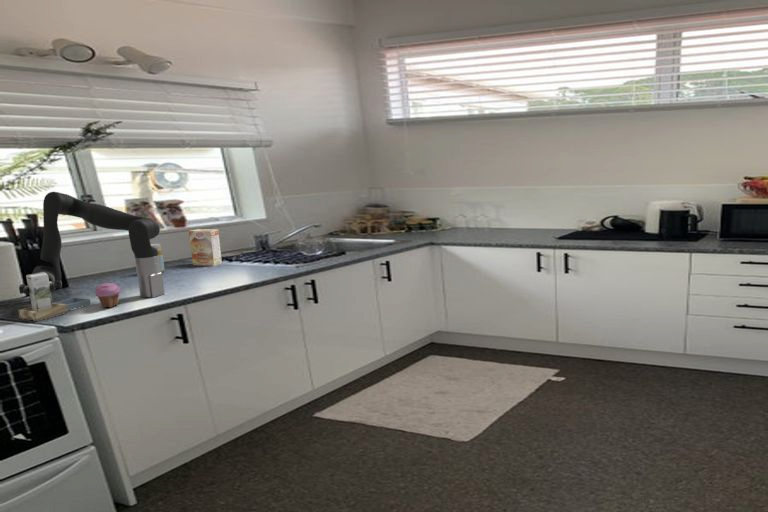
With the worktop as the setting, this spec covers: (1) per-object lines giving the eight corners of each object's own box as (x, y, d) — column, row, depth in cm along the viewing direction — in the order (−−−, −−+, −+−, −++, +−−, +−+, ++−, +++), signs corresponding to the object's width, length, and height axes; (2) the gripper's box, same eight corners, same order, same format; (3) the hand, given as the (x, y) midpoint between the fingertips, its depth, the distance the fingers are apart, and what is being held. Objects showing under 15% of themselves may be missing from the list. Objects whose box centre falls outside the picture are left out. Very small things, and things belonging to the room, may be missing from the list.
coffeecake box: (192, 265, 292) (188, 230, 288) (201, 262, 299) (197, 228, 295) (214, 266, 287) (210, 230, 283) (222, 263, 293) (218, 229, 289)
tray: (67, 313, 204) (66, 304, 203) (36, 321, 194) (35, 312, 193) (50, 310, 209) (49, 301, 209) (19, 318, 199) (18, 309, 199)
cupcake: (112, 310, 206) (108, 285, 204) (92, 309, 207) (88, 285, 205) (126, 303, 214) (123, 280, 212) (108, 303, 216) (104, 280, 214)
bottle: (150, 274, 271) (146, 246, 268) (150, 272, 278) (146, 244, 275) (164, 273, 274) (161, 244, 271) (164, 270, 280) (161, 243, 277)
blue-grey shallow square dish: (90, 304, 215) (89, 299, 215) (66, 311, 206) (65, 305, 206) (76, 302, 220) (75, 297, 219) (51, 309, 211) (50, 303, 211)
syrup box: (48, 307, 205) (42, 271, 203) (54, 309, 202) (47, 273, 199) (32, 311, 201) (25, 274, 198) (37, 313, 197) (30, 276, 195)
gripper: (20, 275, 208) (14, 283, 194) (62, 270, 215) (59, 277, 200) (23, 293, 210) (17, 303, 195) (65, 288, 216) (62, 296, 202)
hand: (38, 290), depth 198 cm, fingers closed on syrup box, 7 cm apart
